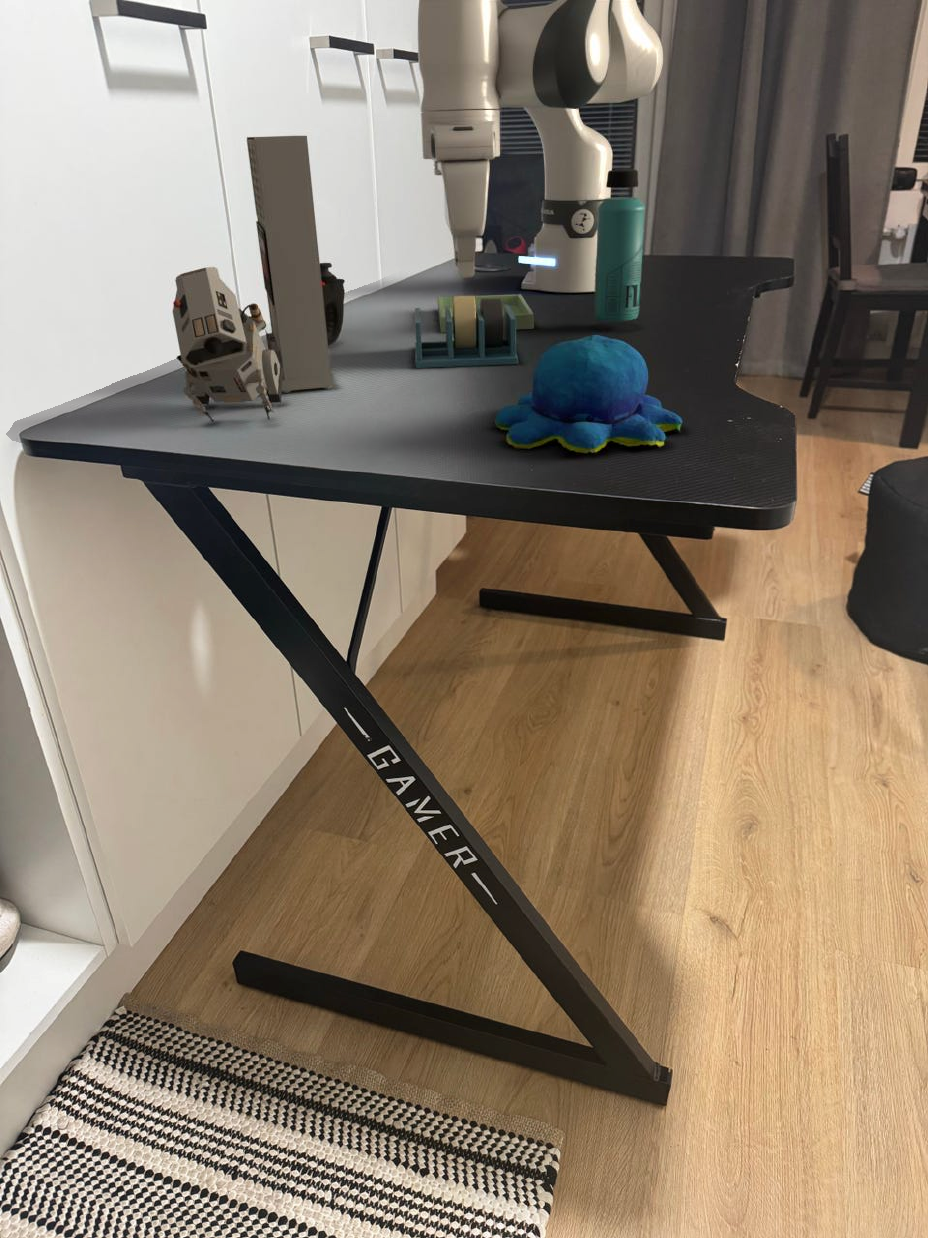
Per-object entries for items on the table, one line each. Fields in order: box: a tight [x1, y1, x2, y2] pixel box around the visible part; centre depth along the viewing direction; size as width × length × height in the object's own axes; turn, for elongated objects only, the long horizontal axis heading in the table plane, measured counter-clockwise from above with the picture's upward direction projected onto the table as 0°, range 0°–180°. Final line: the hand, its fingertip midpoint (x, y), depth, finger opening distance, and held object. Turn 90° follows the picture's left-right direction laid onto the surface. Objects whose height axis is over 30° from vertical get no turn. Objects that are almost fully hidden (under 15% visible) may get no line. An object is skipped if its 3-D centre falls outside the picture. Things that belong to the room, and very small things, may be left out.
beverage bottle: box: [592, 168, 646, 322], centre depth 120 cm, size 6×7×20 cm
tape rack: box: [414, 305, 519, 369], centre depth 110 cm, size 11×12×5 cm
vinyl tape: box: [480, 298, 504, 347], centre depth 110 cm, size 6×2×6 cm, turn 4°
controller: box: [320, 262, 346, 346], centre depth 117 cm, size 4×12×10 cm, turn 163°
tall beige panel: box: [246, 135, 334, 394], centre depth 98 cm, size 14×6×25 cm, turn 15°
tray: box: [437, 293, 535, 333], centre depth 132 cm, size 17×13×2 cm
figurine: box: [172, 266, 283, 422], centre depth 87 cm, size 9×12×15 cm
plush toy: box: [494, 334, 683, 454], centre depth 82 cm, size 17×17×8 cm
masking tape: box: [452, 295, 476, 349], centre depth 110 cm, size 6×3×6 cm, turn 3°
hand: (464, 271), depth 107 cm, fingers open, 8 cm apart
